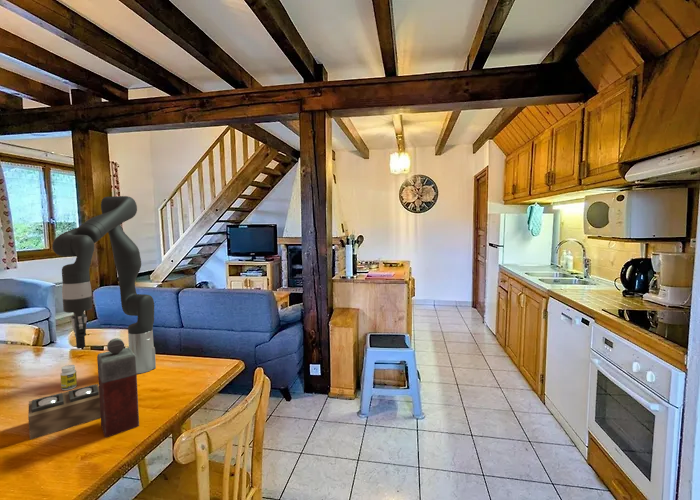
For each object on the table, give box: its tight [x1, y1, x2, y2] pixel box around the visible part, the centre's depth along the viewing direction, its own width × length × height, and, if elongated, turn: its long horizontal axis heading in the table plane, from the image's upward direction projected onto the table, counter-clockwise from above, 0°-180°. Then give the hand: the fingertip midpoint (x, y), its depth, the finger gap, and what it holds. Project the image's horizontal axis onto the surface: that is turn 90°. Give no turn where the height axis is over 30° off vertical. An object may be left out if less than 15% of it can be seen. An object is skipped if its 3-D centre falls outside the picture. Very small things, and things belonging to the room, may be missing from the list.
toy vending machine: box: [96, 337, 140, 438], centre depth 110 cm, size 9×11×28 cm
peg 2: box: [75, 388, 92, 397], centre depth 116 cm, size 4×4×7 cm
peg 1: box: [38, 397, 57, 406], centre depth 110 cm, size 4×4×7 cm
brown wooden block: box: [27, 383, 101, 440], centre depth 113 cm, size 18×12×8 cm, turn 132°
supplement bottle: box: [60, 364, 78, 391], centre depth 135 cm, size 5×5×8 cm
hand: (80, 347), depth 115 cm, fingers closed
